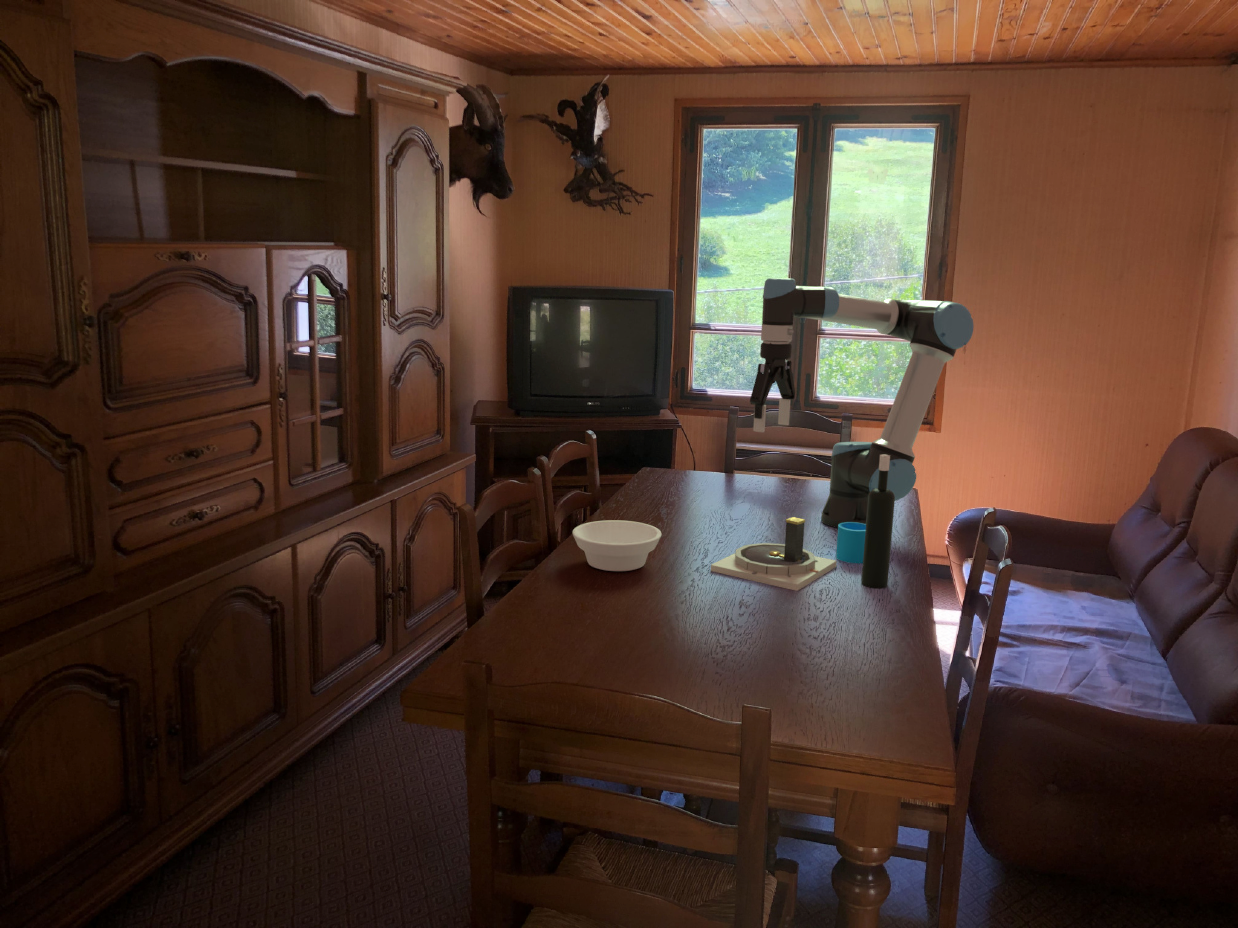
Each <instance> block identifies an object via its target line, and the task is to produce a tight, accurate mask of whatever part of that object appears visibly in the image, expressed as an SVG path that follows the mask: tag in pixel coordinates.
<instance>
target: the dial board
mask: <svg viewBox="0 0 1238 928" xmlns="http://www.w3.org/2000/svg"><path fill="white" fill-rule="evenodd" d="M759 546H778V547H785V543H772V542H771V543H768V542H763V543H762V542H760V543H753V544H752V543H751V544H744V545H743V546H740V547H738V548H736V549H735V552H734V553H733V554H731V555H728V556H727V557H724V558H722V559H720V560H718V561H716V562H714V563H712V564H711V565H710V572H714V573H717V574H721V575H727V576H731V577H736V578H741V579H744V580H747V581H752V582H757V583H762V584H765V585H770V586H776V587H778V588H784V589H787V590H793V591H797V592H798V591H799V590H801V589H803V588H804V587H806V586H807V585H809V584H810V583H813V582H814V581H816V580H817V579H818V578H821V577H822V576H823V575H825V574H827V573H828V572H830V571H832V570H834V569H836V567H837V560H835V559H832V558H831V559H830V558H825V557H821V556H820V557H819V556H815V555H814V552H811V551H809V550H807V549H804V548H803V554H804V555H805V562H804V563H802V564H795V565H787V566H786V565H767V564H763V563H758V562H754V561H750V560H748V559H746V558H745V552H746V550H748V549H750V548H753V547H759Z"/></svg>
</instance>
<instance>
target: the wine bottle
mask: <svg viewBox="0 0 1238 928" xmlns="http://www.w3.org/2000/svg"><path fill="white" fill-rule="evenodd" d="M889 462H890V455H886V454H882V455H880V461H879V478H878V488H876V489H873V490H871V491H870V493H869V495H868V506H867V518H866V531H865V543H864V556H863V563H862V571H861V572H862V573H861V581H860V583H861V585H863V586H864V587H868V588H871V589H883V588H884V589H885V588H887V587H888V585H889V584H888V583H889V574H890V573H889V570H890V560H891V558H890V557H891V551H892V550H891V549H892V538H893V537H892V535H893V526H894V525H893V524H894V516H895V515H894V514H895V513H894V512H895V502H896V501H895V495H894V493H893V492H892V491H891V490H889V489H887V481H888V471H889Z"/></svg>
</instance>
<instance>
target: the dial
mask: <svg viewBox="0 0 1238 928" xmlns="http://www.w3.org/2000/svg"><path fill="white" fill-rule="evenodd" d="M805 523H806V519H804V518H799V517H795V516H792V517H789V518H786V519H785V538H784V539H785V540H784V544H785V547H778V546H759V547H753V548H750V549H748V550H746V552H745V558H746V559H748V560H750V561H754V562H758V563H763V564H767V565H786V566H787V565H795V564H802V563H804V562H805V555H804V554H803V549H804V536H805Z"/></svg>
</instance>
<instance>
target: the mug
mask: <svg viewBox="0 0 1238 928" xmlns="http://www.w3.org/2000/svg"><path fill="white" fill-rule="evenodd" d="M865 531H866V524H863V523H856V522H845V523H840V524H839V525H838V528H837V536H836V537H837V538H836V550H835V551H836V554H835V558H836V559H837V560H839V561H841V562H844V563H849V564H863V556H864V543H865Z"/></svg>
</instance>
